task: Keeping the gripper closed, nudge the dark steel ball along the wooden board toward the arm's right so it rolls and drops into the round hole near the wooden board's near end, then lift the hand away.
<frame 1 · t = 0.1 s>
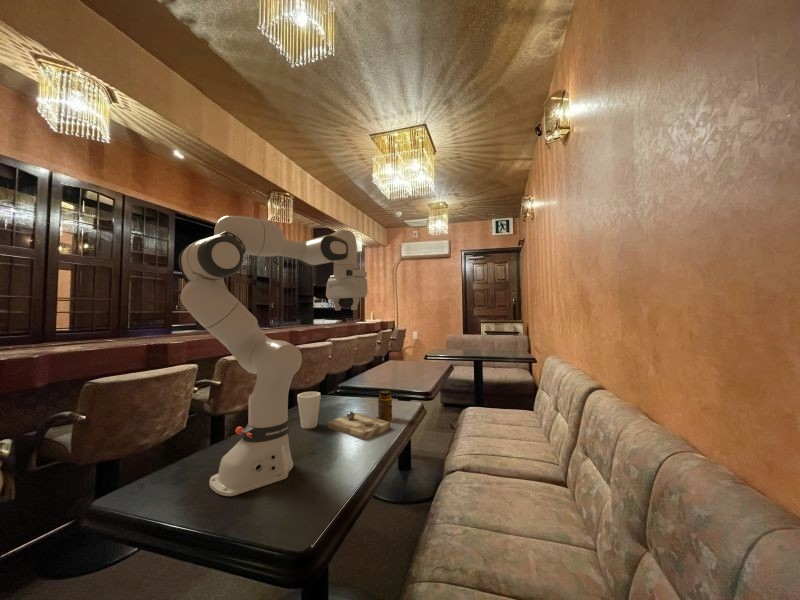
hand: (345, 310, 124), 48 cm above the table, fingers open, 8 cm apart
condiment: (383, 420, 143), on the table
foam cup: (309, 426, 137), on the table
ball: (350, 415, 136), point 4 cm above the table, touching wooden board
wooden board: (359, 428, 133), on the table
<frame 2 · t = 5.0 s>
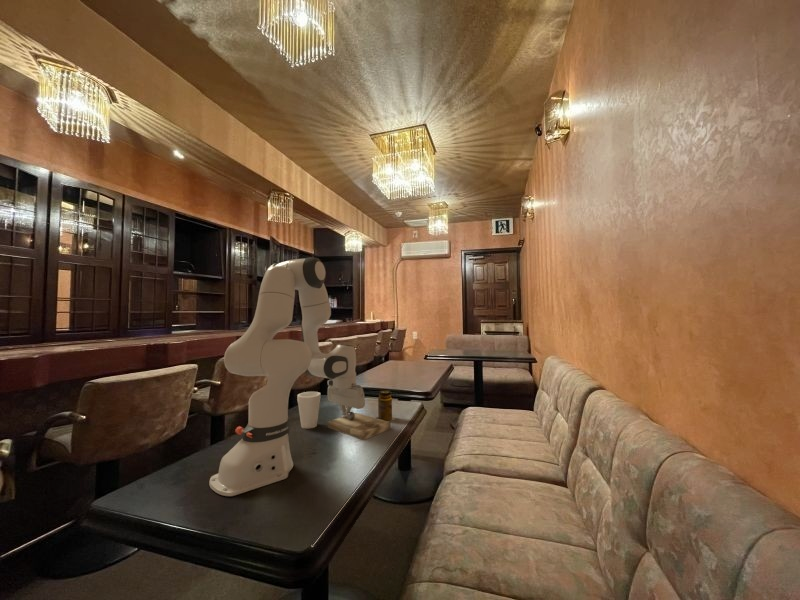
hand: (346, 415, 138), 4 cm above the table, fingers closed
ball: (351, 415, 136), point 4 cm above the table, tilted 6°, touching wooden board, gripper
everything else where it was.
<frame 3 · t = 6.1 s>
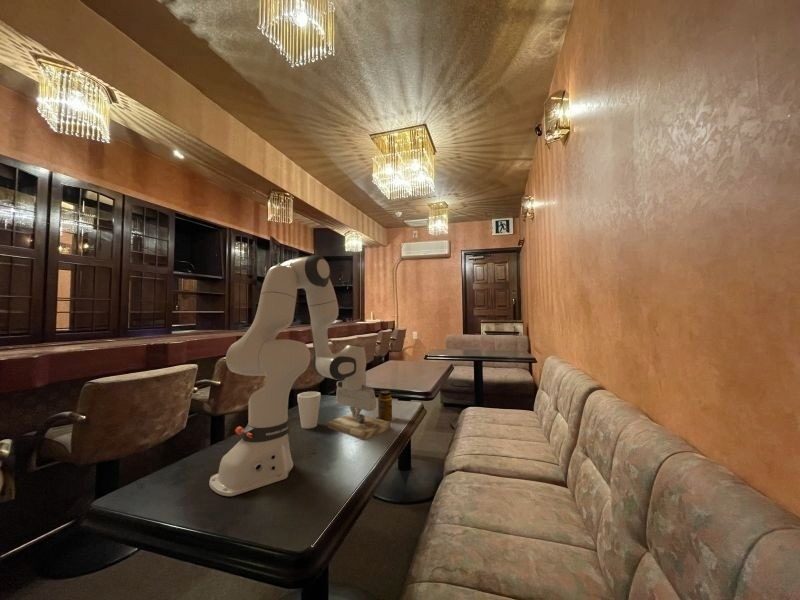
hand: (355, 417, 135), 4 cm above the table, fingers closed
ball: (360, 418, 133), point 4 cm above the table, tilted 147°, touching wooden board, gripper
everything else where it was.
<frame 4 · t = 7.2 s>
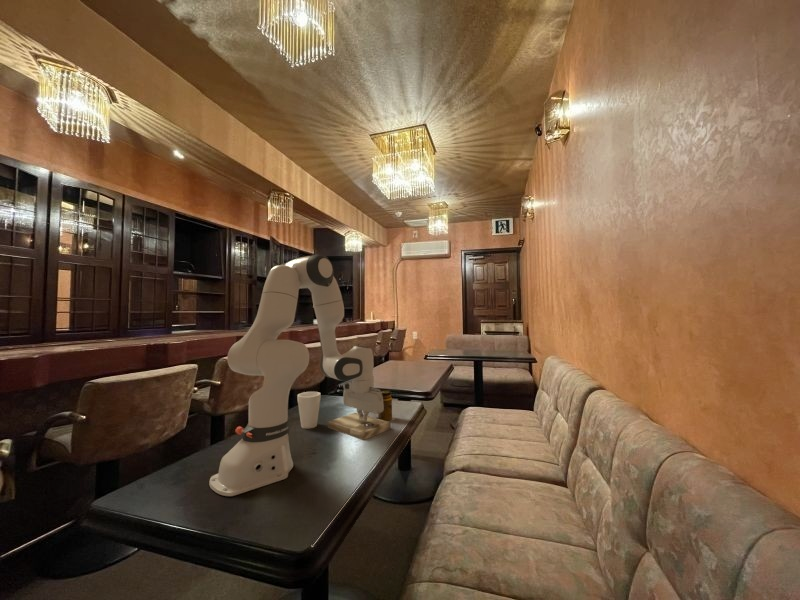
hand: (363, 420, 132), 4 cm above the table, fingers closed
ball: (368, 427, 129), point 2 cm above the table, tilted 54°
everything else where it was.
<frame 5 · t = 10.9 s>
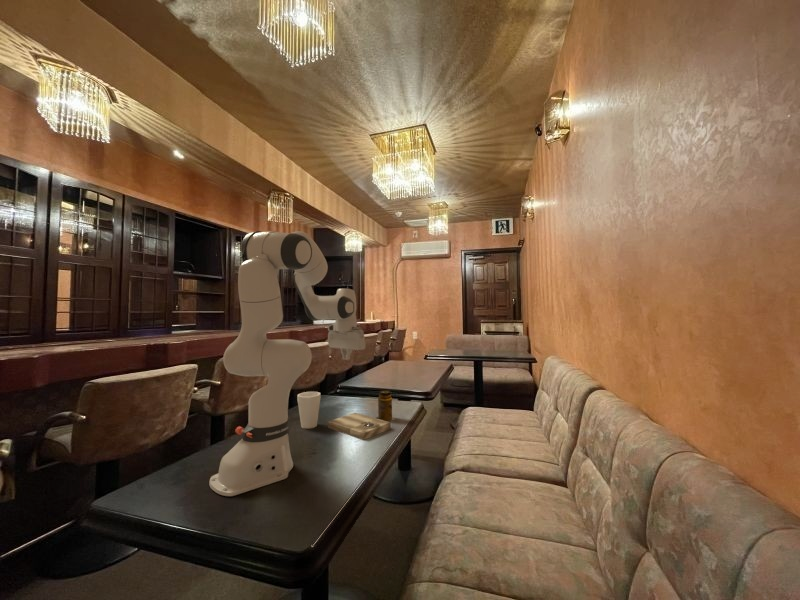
hand: (346, 359, 139), 27 cm above the table, fingers closed
ball: (369, 427, 129), point 2 cm above the table, tilted 82°
everything else where it was.
at the end: ball 0.5 cm from the target spot in the wooden board, point 1.6 cm above the wooden board's base; ball point 1.6 cm above the table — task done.
